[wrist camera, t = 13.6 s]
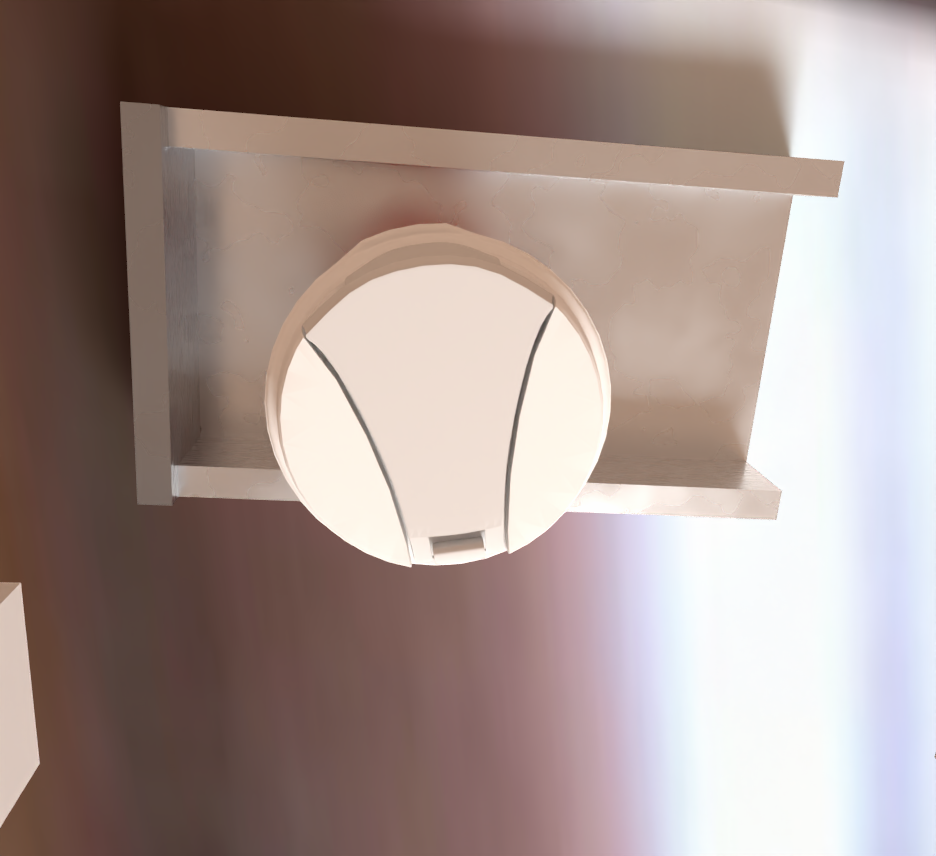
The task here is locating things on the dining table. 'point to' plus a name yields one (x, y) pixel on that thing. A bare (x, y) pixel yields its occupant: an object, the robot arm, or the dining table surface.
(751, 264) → the channel
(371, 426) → the coffee cup
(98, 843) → the dining table surface
